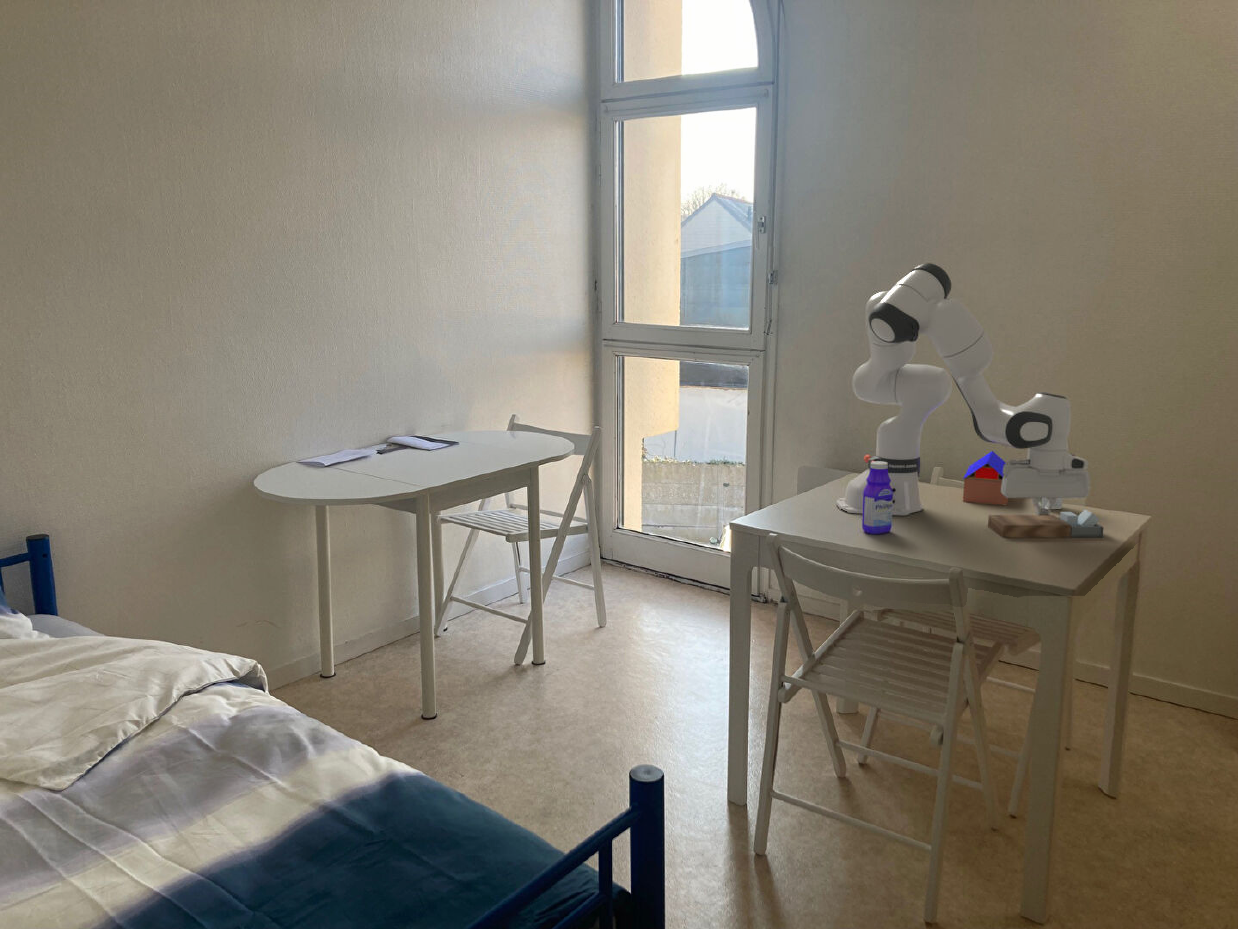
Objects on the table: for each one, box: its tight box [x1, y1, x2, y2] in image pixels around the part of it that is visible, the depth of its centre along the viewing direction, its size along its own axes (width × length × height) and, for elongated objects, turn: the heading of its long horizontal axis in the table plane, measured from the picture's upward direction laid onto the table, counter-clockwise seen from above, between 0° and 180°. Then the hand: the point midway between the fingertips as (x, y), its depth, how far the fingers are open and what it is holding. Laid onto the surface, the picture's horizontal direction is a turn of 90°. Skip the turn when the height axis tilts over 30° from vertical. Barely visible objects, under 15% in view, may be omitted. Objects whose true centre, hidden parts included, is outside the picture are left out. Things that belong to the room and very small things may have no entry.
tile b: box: [1059, 511, 1079, 526], centre depth 232 cm, size 4×4×2 cm
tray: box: [1057, 516, 1105, 538], centre depth 232 cm, size 8×10×2 cm
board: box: [987, 514, 1071, 538], centre depth 232 cm, size 16×10×3 cm, turn 89°
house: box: [962, 450, 1009, 506], centre depth 269 cm, size 12×20×12 cm, turn 155°
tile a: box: [1078, 509, 1100, 526], centre depth 231 cm, size 4×4×2 cm
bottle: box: [861, 461, 893, 535], centre depth 232 cm, size 7×6×17 cm
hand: (1042, 515), depth 232 cm, fingers closed
